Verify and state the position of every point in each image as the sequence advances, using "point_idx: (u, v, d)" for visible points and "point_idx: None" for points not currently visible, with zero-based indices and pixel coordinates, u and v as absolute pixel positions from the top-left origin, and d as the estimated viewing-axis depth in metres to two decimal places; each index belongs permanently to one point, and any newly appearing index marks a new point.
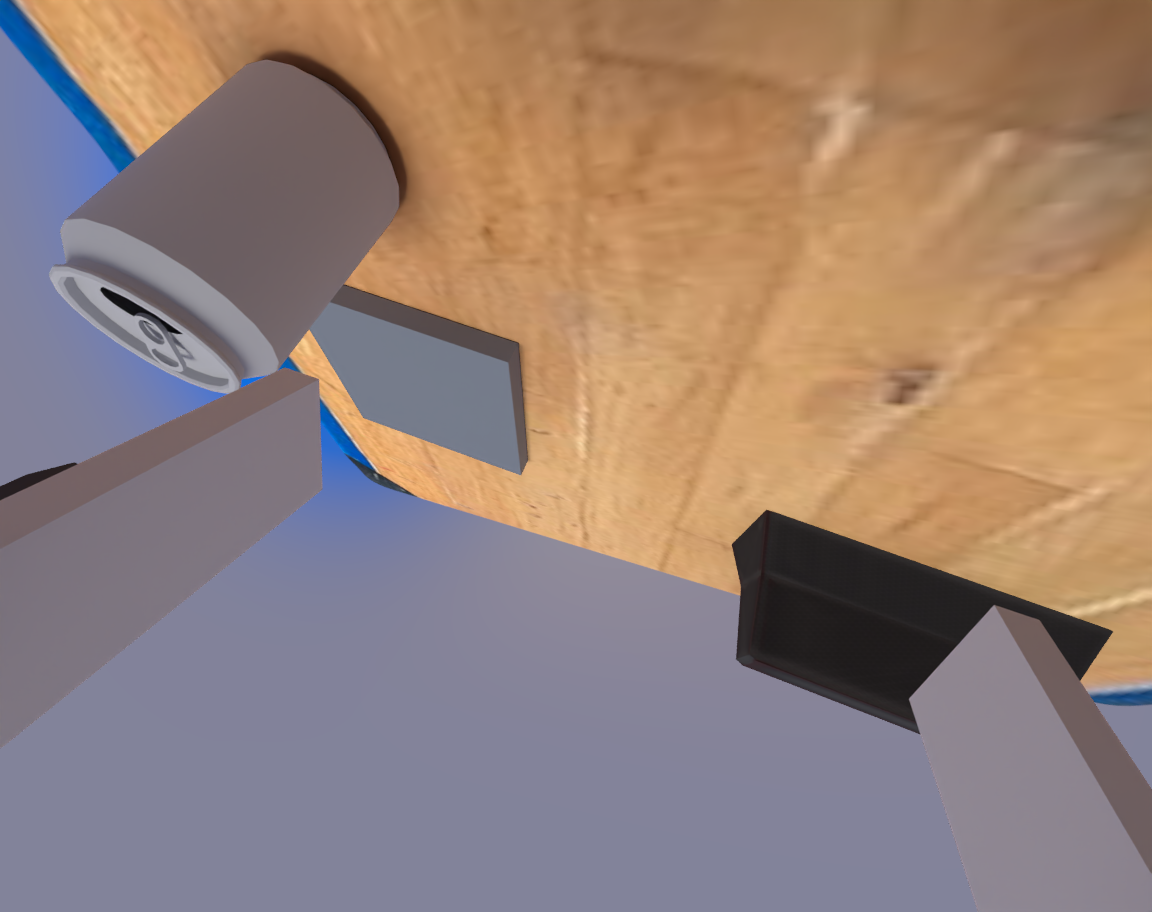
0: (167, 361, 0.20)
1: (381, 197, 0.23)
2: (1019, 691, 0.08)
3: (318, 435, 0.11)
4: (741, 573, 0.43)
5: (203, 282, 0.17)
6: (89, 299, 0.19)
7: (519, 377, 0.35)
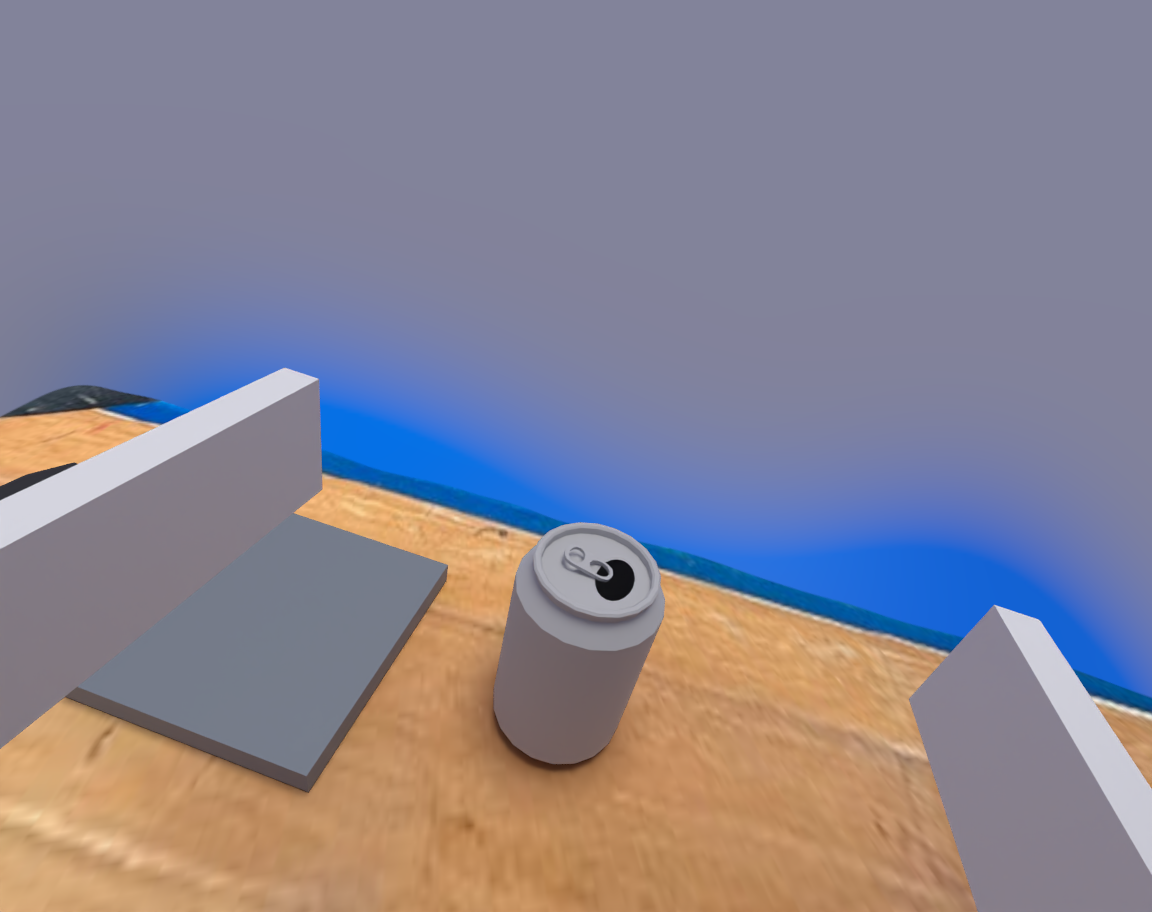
0: (571, 550, 0.26)
1: (541, 746, 0.28)
2: (1019, 691, 0.08)
3: (318, 435, 0.11)
4: None
5: (630, 645, 0.24)
6: (613, 541, 0.28)
7: (247, 765, 0.26)
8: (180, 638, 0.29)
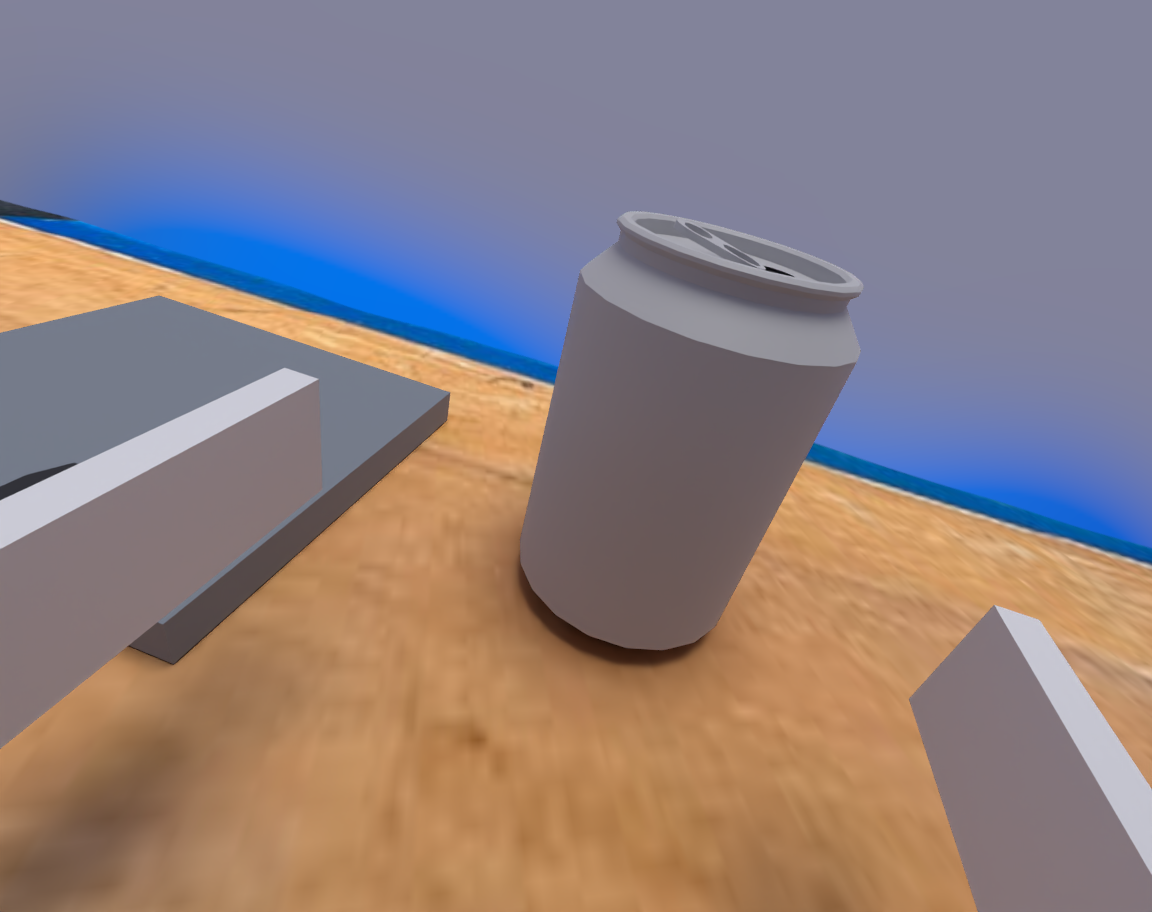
0: None
1: (610, 610, 0.15)
2: (1018, 691, 0.08)
3: (318, 435, 0.11)
4: None
5: (823, 363, 0.12)
6: (747, 254, 0.16)
7: None
8: None
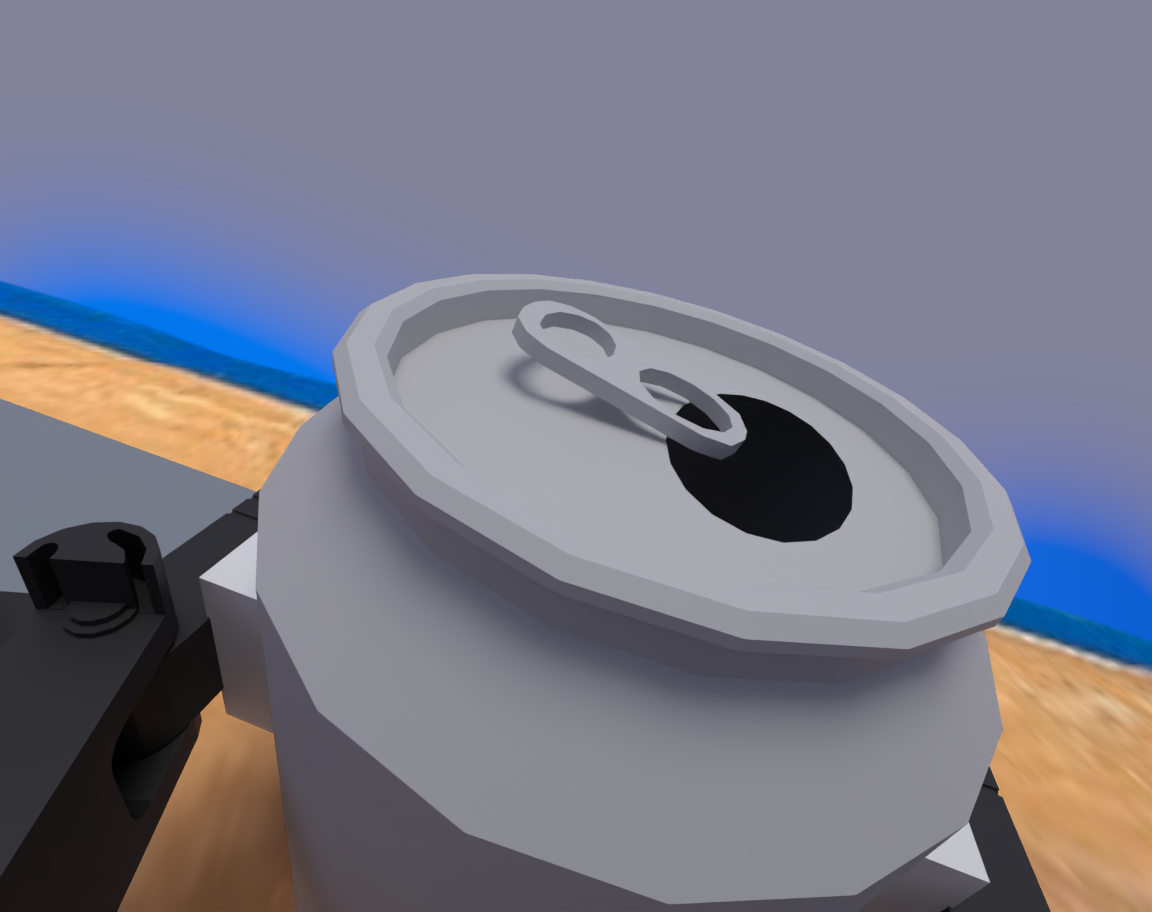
0: (551, 322, 0.06)
1: None
2: None
3: None
4: None
5: (932, 835, 0.04)
6: (712, 352, 0.08)
7: None
8: None
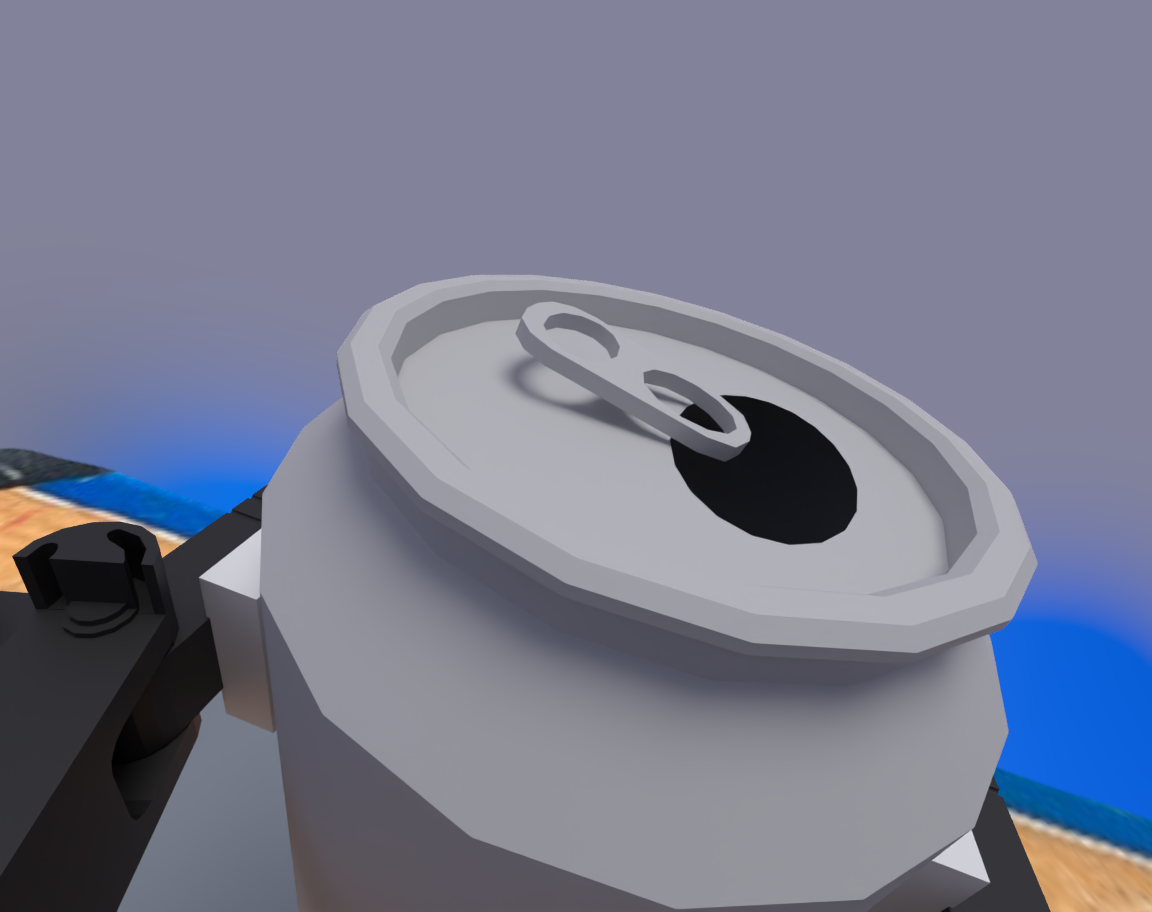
0: (555, 323, 0.06)
1: None
2: None
3: None
4: None
5: (939, 839, 0.04)
6: (715, 354, 0.08)
7: None
8: None
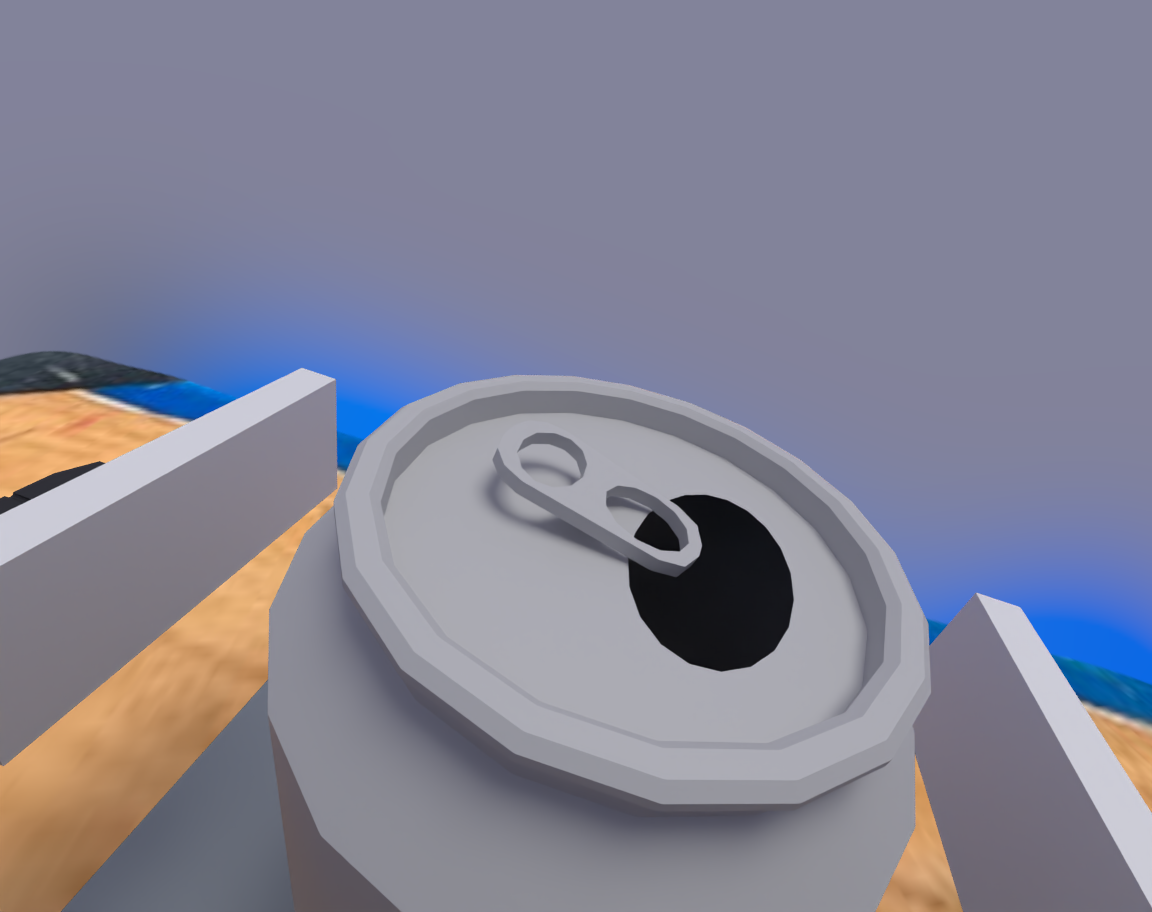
0: (529, 442, 0.06)
1: None
2: (998, 676, 0.08)
3: (334, 435, 0.11)
4: None
5: None
6: (683, 441, 0.08)
7: None
8: None
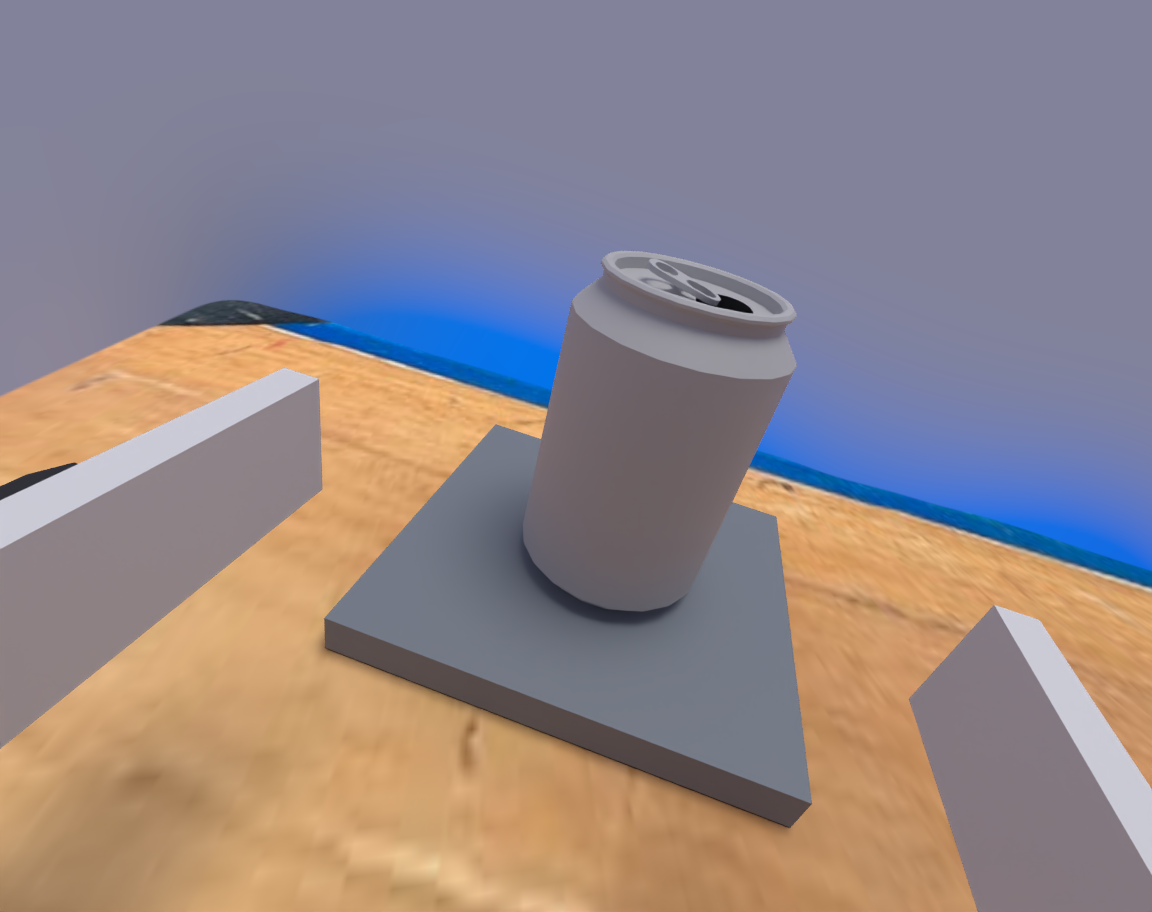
0: (656, 265, 0.17)
1: (598, 577, 0.19)
2: (1018, 691, 0.08)
3: (318, 435, 0.11)
4: None
5: (760, 376, 0.15)
6: (710, 283, 0.19)
7: (690, 784, 0.17)
8: (523, 593, 0.20)
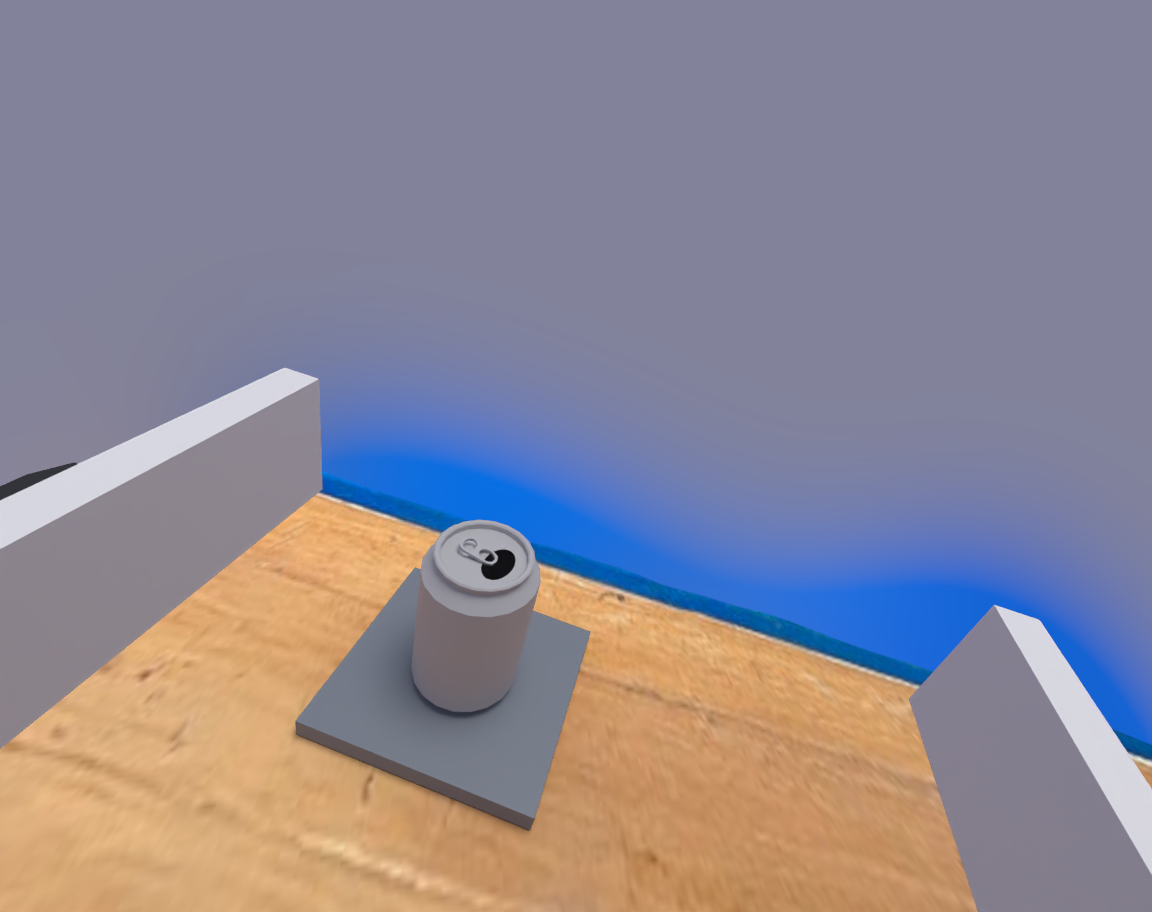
0: (466, 540, 0.34)
1: (443, 696, 0.35)
2: (1019, 691, 0.08)
3: (318, 435, 0.11)
4: None
5: (502, 613, 0.31)
6: (505, 535, 0.36)
7: (481, 808, 0.33)
8: (407, 700, 0.37)
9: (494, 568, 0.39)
